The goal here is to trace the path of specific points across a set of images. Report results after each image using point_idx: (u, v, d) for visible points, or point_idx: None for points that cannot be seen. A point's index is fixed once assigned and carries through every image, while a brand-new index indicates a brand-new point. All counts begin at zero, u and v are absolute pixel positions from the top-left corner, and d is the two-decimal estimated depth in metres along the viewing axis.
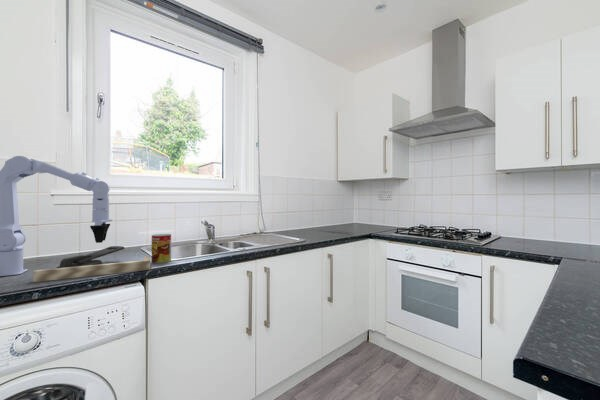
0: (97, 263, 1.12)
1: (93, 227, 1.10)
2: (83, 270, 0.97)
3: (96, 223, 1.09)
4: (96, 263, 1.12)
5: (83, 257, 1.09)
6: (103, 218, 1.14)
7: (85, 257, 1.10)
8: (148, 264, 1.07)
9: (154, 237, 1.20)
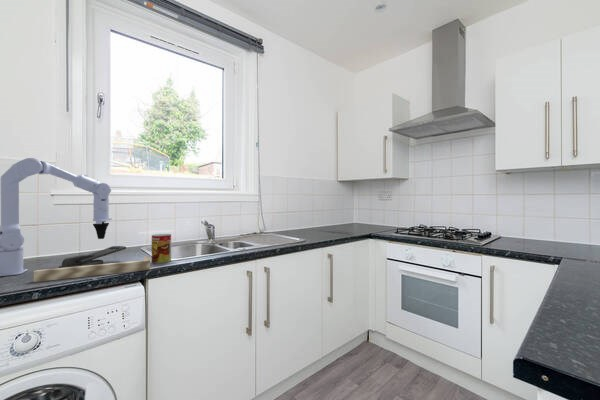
0: (99, 263, 1.13)
1: (95, 225, 1.23)
2: (83, 270, 0.97)
3: (97, 222, 1.19)
4: (98, 263, 1.12)
5: (85, 257, 1.10)
6: (103, 217, 1.24)
7: (87, 257, 1.11)
8: (148, 264, 1.07)
9: (154, 237, 1.20)
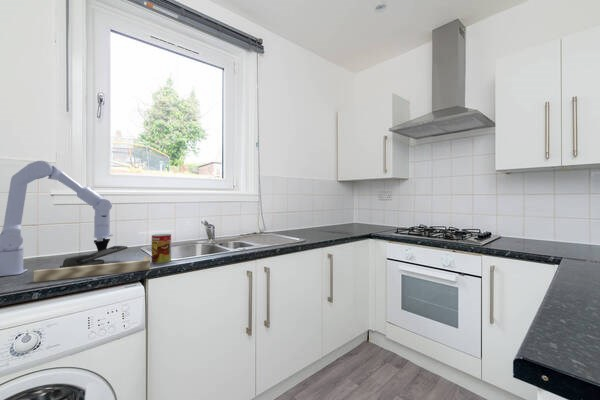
0: (100, 262, 1.13)
1: (96, 242, 1.21)
2: (83, 270, 0.97)
3: (98, 239, 1.17)
4: (99, 262, 1.13)
5: (86, 256, 1.10)
6: (104, 234, 1.22)
7: (88, 256, 1.11)
8: (148, 264, 1.07)
9: (154, 237, 1.20)
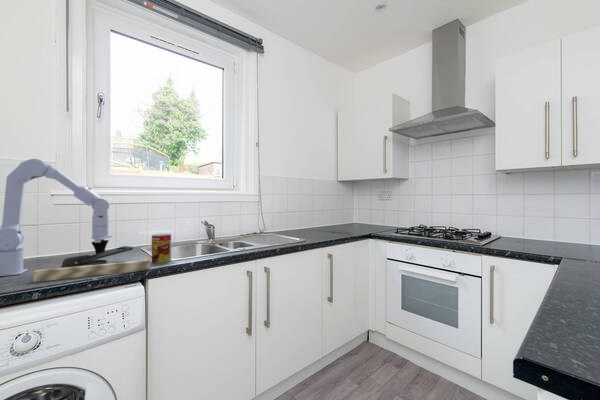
0: (101, 263, 1.12)
1: (94, 243, 1.16)
2: (83, 270, 0.97)
3: (96, 240, 1.13)
4: (99, 263, 1.11)
5: (87, 257, 1.09)
6: (103, 235, 1.18)
7: (89, 257, 1.10)
8: (148, 264, 1.07)
9: (154, 237, 1.20)
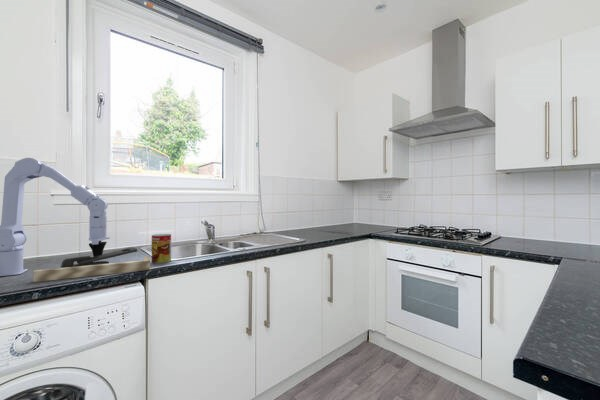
0: None
1: (92, 245, 1.11)
2: (83, 270, 0.97)
3: (93, 242, 1.07)
4: None
5: (87, 258, 1.06)
6: (100, 236, 1.12)
7: (89, 258, 1.07)
8: (148, 264, 1.07)
9: (154, 237, 1.20)
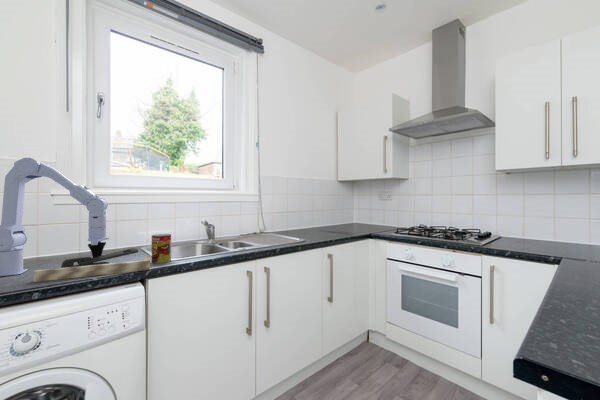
0: None
1: (91, 245, 1.09)
2: (83, 270, 0.97)
3: (92, 243, 1.06)
4: None
5: (87, 259, 1.05)
6: (100, 237, 1.11)
7: (89, 259, 1.06)
8: (148, 264, 1.07)
9: (154, 237, 1.20)
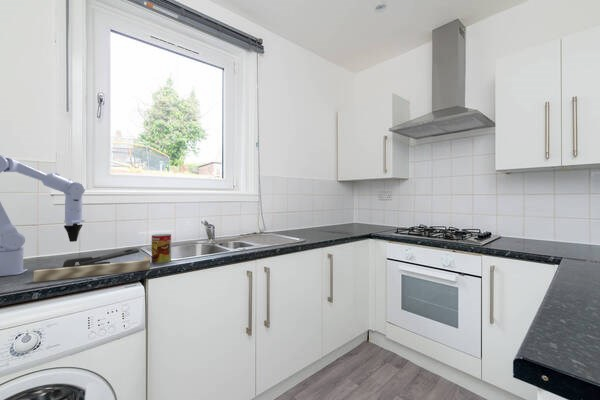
0: None
1: (67, 227, 1.16)
2: (83, 270, 0.97)
3: (67, 223, 1.12)
4: None
5: (88, 259, 1.06)
6: (75, 218, 1.17)
7: (91, 259, 1.06)
8: (148, 264, 1.07)
9: (154, 237, 1.20)
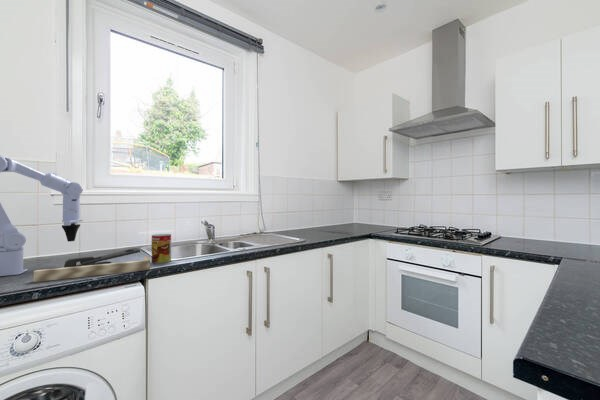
0: None
1: (64, 226, 1.16)
2: (83, 270, 0.97)
3: (65, 223, 1.12)
4: None
5: (89, 258, 1.06)
6: (73, 218, 1.17)
7: (92, 259, 1.07)
8: (148, 264, 1.07)
9: (154, 237, 1.20)
